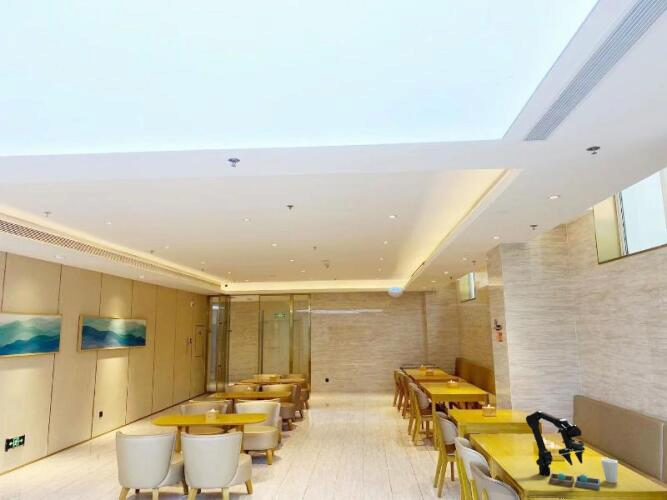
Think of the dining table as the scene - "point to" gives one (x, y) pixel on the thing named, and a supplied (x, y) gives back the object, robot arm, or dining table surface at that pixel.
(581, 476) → the ball
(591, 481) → the charcoal tray
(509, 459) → the dining table surface
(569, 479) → the walnut tray
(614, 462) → the foam cup
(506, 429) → the dining table surface
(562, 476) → the teal ball
